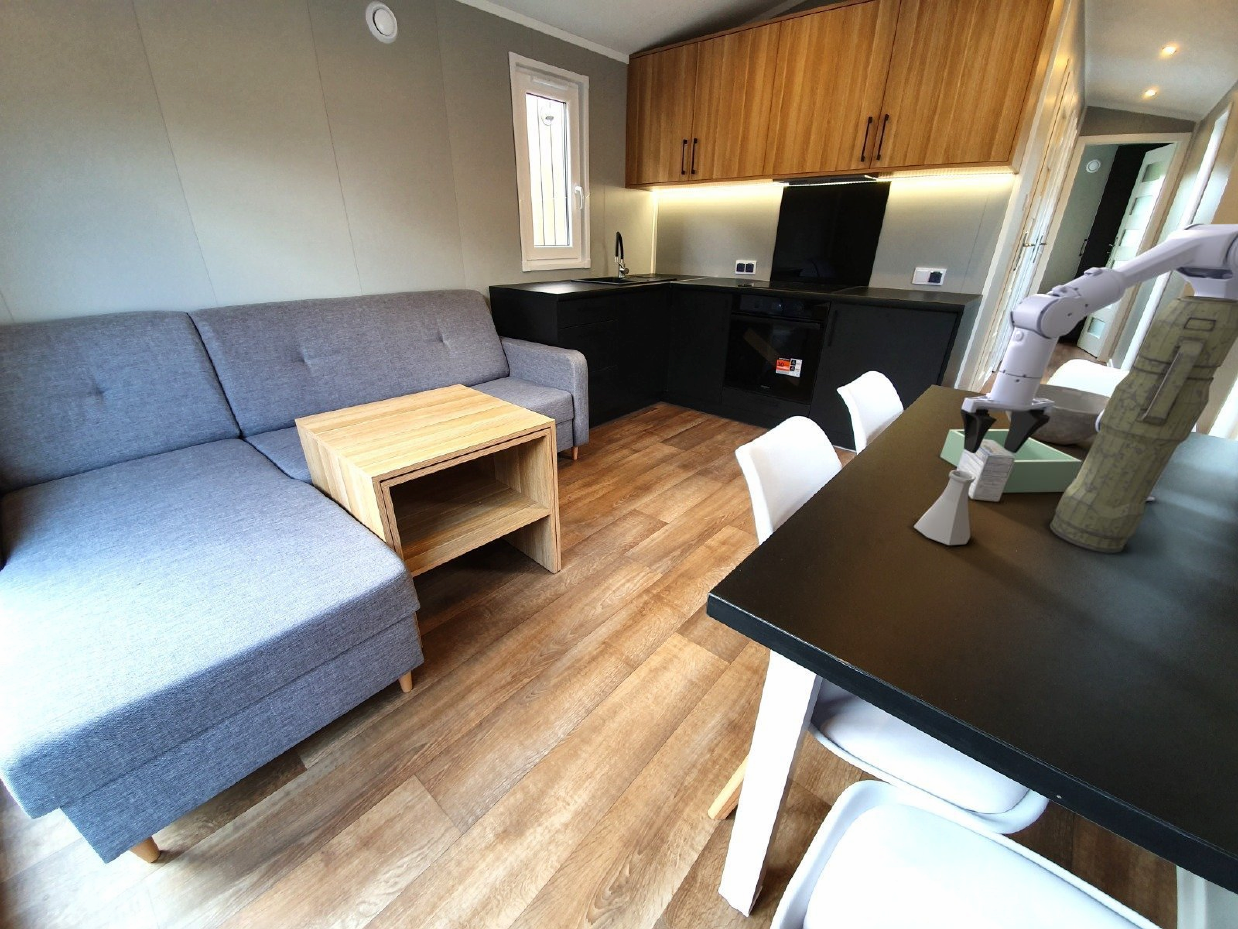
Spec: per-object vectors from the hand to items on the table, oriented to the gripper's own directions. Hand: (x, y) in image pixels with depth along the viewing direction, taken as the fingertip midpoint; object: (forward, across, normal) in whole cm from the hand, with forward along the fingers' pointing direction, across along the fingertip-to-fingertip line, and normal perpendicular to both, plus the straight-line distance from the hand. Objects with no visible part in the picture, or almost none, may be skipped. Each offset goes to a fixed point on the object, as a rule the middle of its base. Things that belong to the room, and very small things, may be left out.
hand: (989, 450), depth 84 cm
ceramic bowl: (+8, -38, -25) cm, 46 cm away
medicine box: (+8, 0, 0) cm, 8 cm away
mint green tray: (+8, -11, -7) cm, 15 cm away
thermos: (+8, -6, +15) cm, 18 cm away
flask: (+8, +16, +13) cm, 22 cm away
